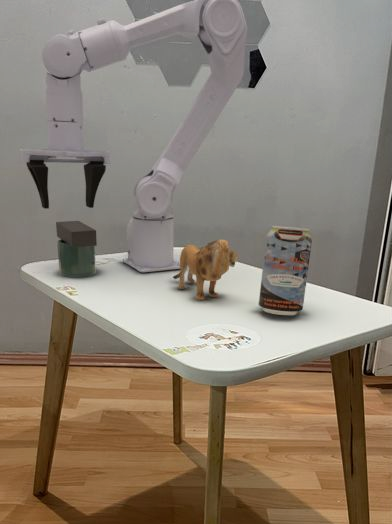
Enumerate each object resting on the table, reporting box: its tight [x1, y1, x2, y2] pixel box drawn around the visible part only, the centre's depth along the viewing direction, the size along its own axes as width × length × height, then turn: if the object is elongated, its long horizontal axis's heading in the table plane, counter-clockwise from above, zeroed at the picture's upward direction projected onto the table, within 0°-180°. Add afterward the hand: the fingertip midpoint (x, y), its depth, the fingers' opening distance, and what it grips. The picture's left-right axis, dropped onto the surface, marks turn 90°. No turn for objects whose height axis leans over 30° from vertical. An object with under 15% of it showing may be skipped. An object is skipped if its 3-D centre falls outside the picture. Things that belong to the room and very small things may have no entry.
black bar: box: [55, 220, 98, 247], centre depth 94 cm, size 10×4×2 cm, turn 27°
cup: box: [56, 239, 97, 278], centre depth 96 cm, size 6×6×6 cm
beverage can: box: [258, 225, 313, 316], centre depth 76 cm, size 6×7×12 cm
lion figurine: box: [172, 239, 240, 301], centre depth 86 cm, size 15×5×9 cm, turn 35°
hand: (67, 207), depth 97 cm, fingers open, 7 cm apart
